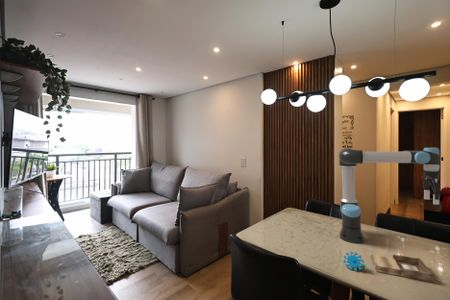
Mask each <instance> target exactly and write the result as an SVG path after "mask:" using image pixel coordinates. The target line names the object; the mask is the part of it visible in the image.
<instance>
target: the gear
mask: <svg viewBox="0 0 450 300" xmlns="http://www.w3.org/2000/svg"><path fill="white" fill-rule="evenodd" d="M345 254H346V255H343V258H344V259H343V263H345V267H347V268H348V267H349V268H348V269H349V270H351V271H352V270H354V272H358V270H359V271H361V270H362V269H363V270H364V269H365V268H367V264H364V263H365V259H363V257H362V255H361V254H358V252H354V253H353V251H350V252H345ZM349 254H350V255H349ZM357 267H358V269H357Z"/></svg>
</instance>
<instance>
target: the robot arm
mask: <svg viewBox="0 0 450 300" xmlns="http://www.w3.org/2000/svg"><path fill="white" fill-rule="evenodd" d="M338 160H339V161H338V164H339V167H340V168H341V181H342V182H341V187H342V189H341V190H342V193H341V194H342V198H340V206H339V210H340V212H341V228H340V231H339V238H340V239H341V240H343V241H345V242H348V243H353V244H361V243H364V242H365V237H364V234H363V231H362V225H361V224H362V221H361V220H362V217H361V215H362V210H361V207H360V206H359V200H357V199H356V181H355V180H356V179H355V178H356V177H355V176H356V174H355V168H357V165H359V164H360V165H363V164H364V163H377V164H378V163H382V164H383V163H385V164H391V163H392V164H393V163H394V164H419V165H421V164H422V165H423V176H424V180H423V185H422V189H423V194H424V196H423V198H424V200H431V199H430V197H431V196H430V194H431V189H432V192H433V193H432V196H433V197H432V204H433V205H436V206H437V205H440V195H442V190H441V186H440V183H439V182H440V179H439V177H440V167H441V166H440V148H438V147H424V148H423V150H403V151H364V150H363V149H352V148H348V147H345V148H343V149H341V150H340V151H339V153H338Z"/></svg>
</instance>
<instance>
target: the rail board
mask: <svg viewBox="0 0 450 300" xmlns="http://www.w3.org/2000/svg"><path fill="white" fill-rule="evenodd" d="M369 257H370V260H371V263H372V265H373V268H374V270H375V272H376V273H379V274H385V275H389V276H396V277H401V278H408V279H411V280H419V281H422V282H428V283H434V273H432V271H431V270H430V269H429V268H428V266H427V265H426V263H424V262H423V261H422V259H421V258H420V257H412V256H406V255H399V254H394V253H393V254H392V257H386V256H381V255H374V254H373V255H372V254H370V256H369Z"/></svg>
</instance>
